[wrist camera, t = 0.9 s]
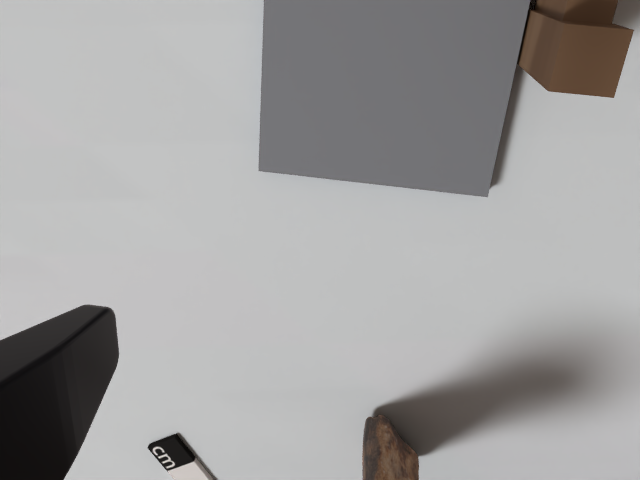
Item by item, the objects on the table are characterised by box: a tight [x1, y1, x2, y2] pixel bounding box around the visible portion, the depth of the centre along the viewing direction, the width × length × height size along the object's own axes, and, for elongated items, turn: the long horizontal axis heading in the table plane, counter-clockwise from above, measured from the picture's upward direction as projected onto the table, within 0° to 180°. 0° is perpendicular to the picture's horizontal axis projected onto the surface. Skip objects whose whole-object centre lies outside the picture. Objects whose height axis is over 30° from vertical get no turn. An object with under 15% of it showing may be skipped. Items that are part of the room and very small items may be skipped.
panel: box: [259, 0, 530, 197], centre depth 19 cm, size 8×8×1 cm
